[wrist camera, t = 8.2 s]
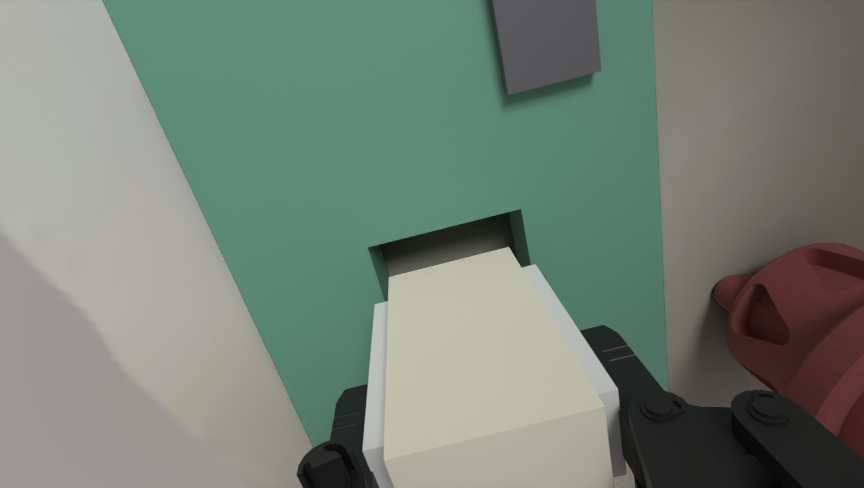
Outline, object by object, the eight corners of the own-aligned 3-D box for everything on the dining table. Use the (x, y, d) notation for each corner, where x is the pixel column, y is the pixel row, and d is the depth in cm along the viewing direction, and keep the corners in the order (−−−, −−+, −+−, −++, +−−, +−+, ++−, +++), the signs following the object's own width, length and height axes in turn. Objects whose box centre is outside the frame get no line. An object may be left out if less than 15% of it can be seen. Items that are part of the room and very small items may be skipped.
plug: (388, 277, 16) (383, 460, 9) (509, 246, 16) (604, 406, 9) (421, 381, 18) (439, 604, 11) (529, 354, 18) (622, 562, 11)
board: (144, -11, 16) (77, -28, 12) (600, -136, 15) (656, -187, 12) (343, 445, 24) (335, 507, 21) (637, 375, 24) (676, 427, 21)
